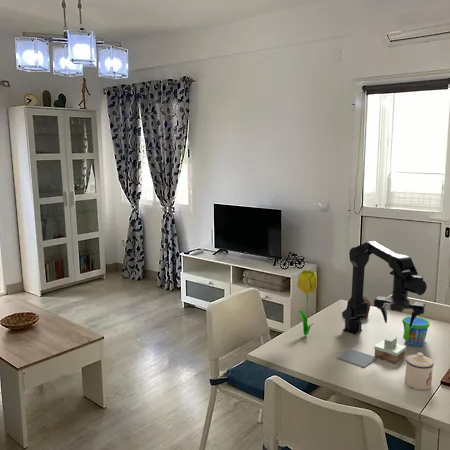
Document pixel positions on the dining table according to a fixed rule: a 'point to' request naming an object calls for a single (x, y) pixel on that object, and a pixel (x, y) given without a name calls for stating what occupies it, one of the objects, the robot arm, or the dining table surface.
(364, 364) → the mat
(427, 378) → the teacup with lid
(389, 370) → the dining table surface
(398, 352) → the lid
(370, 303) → the muffin
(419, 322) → the snack cup
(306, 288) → the flower
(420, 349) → the dining table surface
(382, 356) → the crate
